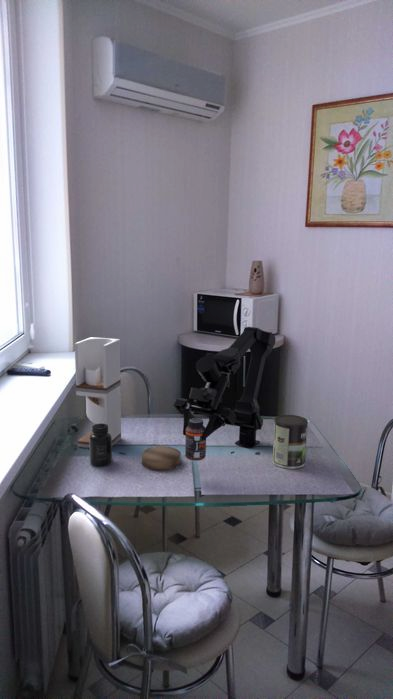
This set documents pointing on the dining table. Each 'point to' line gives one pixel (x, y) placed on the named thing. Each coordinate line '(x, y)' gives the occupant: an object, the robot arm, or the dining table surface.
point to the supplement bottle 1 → (100, 445)
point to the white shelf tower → (100, 383)
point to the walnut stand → (161, 458)
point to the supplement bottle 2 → (195, 440)
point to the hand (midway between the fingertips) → (193, 437)
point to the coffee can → (289, 441)
